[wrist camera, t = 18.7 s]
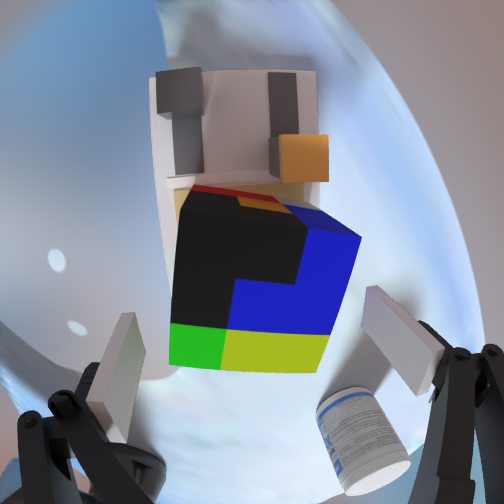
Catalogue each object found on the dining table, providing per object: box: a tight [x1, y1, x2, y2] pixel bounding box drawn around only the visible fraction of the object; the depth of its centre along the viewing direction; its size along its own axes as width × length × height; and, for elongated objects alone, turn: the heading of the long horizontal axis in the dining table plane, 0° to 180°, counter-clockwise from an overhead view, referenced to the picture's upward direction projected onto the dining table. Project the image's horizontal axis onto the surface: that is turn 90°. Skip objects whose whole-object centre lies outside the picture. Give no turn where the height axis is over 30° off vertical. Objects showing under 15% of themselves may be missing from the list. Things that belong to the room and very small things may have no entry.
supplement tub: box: [316, 387, 411, 496], centre depth 32 cm, size 10×10×15 cm
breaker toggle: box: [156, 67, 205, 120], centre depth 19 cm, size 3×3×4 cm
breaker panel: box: [149, 69, 319, 297], centre depth 25 cm, size 14×21×2 cm, turn 3°
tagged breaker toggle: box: [268, 134, 329, 183], centre depth 21 cm, size 3×3×5 cm
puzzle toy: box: [169, 184, 362, 373], centre depth 21 cm, size 10×10×10 cm
